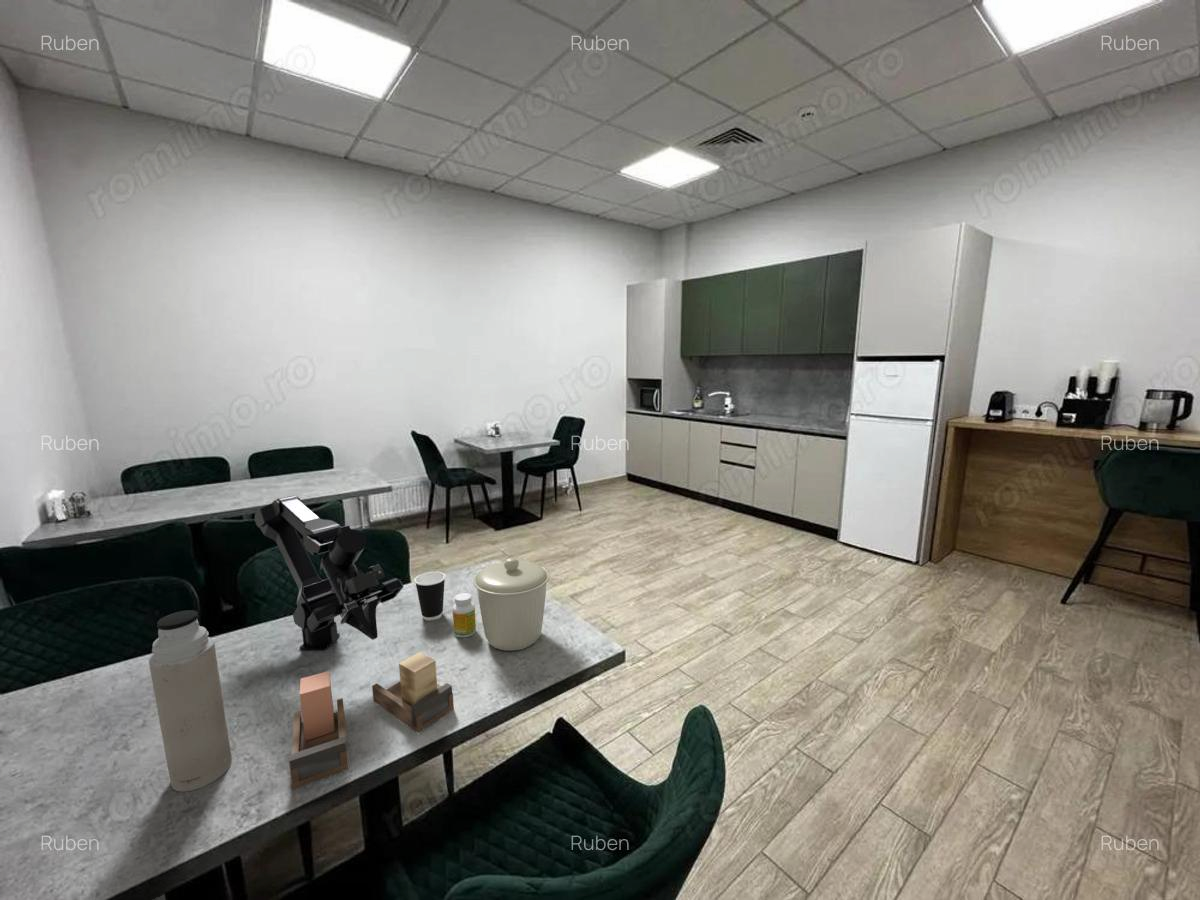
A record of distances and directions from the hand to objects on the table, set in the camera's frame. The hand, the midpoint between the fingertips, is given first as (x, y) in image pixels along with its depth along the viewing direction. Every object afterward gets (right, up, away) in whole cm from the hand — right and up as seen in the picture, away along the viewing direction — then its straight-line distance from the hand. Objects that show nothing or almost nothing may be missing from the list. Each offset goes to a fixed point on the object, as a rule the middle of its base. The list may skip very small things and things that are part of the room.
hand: (375, 638), depth 102 cm
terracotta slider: (-4, -11, -13) cm, 18 cm away
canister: (+26, -7, +18) cm, 33 cm away
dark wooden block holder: (-2, -13, -16) cm, 21 cm away
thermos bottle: (-19, -14, -21) cm, 32 cm away
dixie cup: (+2, -5, +29) cm, 30 cm away
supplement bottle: (+13, -7, +21) cm, 26 cm away
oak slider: (+12, -10, -7) cm, 17 cm away
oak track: (+10, -11, -5) cm, 16 cm away
